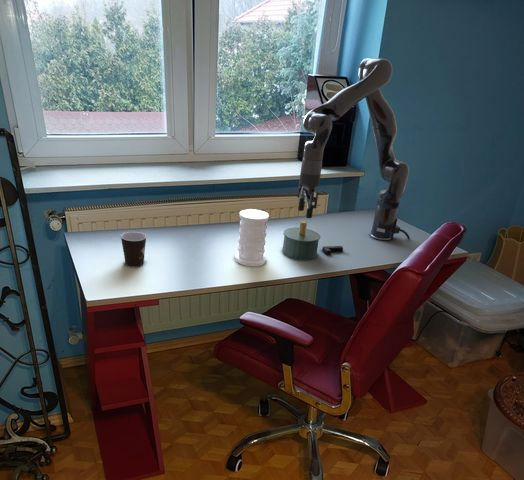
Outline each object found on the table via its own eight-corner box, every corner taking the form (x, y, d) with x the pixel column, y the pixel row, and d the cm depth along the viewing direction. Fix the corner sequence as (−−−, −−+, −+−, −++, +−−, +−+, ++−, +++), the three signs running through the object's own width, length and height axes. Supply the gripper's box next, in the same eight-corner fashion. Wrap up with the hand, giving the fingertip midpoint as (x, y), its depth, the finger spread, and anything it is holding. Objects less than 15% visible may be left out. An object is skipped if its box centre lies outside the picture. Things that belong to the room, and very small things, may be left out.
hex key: (340, 250, 220) (341, 245, 219) (345, 254, 216) (346, 250, 215) (321, 250, 217) (322, 246, 216) (326, 255, 214) (327, 250, 213)
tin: (308, 246, 220) (311, 228, 216) (321, 259, 209) (324, 241, 205) (277, 247, 216) (280, 229, 212) (289, 260, 205) (291, 242, 201)
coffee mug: (135, 270, 185) (134, 242, 180) (117, 262, 189) (115, 236, 183) (157, 260, 194) (157, 234, 188) (139, 253, 197) (139, 228, 192)
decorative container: (230, 255, 204) (233, 209, 195) (258, 253, 209) (262, 208, 199) (241, 267, 196) (245, 220, 186) (270, 264, 200) (275, 218, 190)
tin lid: (311, 229, 217) (313, 215, 214) (325, 243, 205) (328, 228, 202) (278, 230, 213) (279, 215, 209) (290, 244, 201) (292, 228, 198)
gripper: (327, 176, 191) (320, 220, 200) (313, 166, 202) (306, 208, 211) (308, 176, 189) (302, 220, 197) (294, 165, 200) (289, 208, 209)
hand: (304, 214), depth 204 cm, fingers open, 8 cm apart
